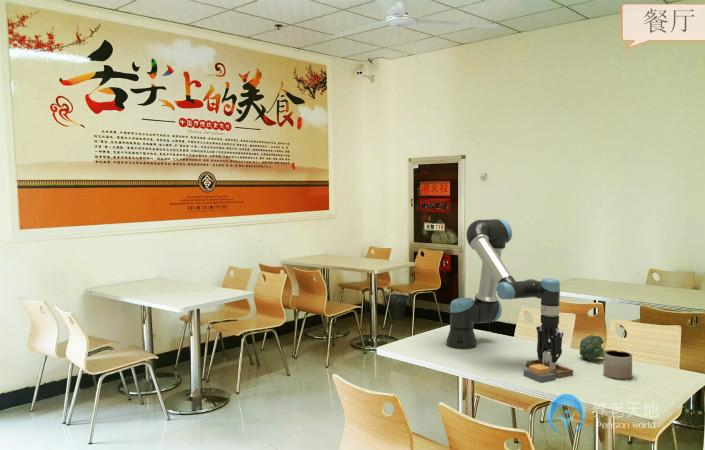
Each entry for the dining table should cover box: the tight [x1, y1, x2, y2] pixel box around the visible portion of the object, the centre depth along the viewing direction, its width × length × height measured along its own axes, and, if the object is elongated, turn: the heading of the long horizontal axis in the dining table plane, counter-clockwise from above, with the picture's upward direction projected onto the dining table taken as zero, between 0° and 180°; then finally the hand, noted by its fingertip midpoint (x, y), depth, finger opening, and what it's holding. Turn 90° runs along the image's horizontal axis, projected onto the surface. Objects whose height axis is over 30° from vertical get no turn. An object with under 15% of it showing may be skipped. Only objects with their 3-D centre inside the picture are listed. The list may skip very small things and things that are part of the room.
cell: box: [544, 349, 554, 371], centre depth 238 cm, size 4×4×9 cm
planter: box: [602, 349, 633, 381], centre depth 231 cm, size 11×11×10 cm
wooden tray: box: [525, 358, 574, 379], centre depth 238 cm, size 18×9×2 cm, turn 26°
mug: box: [536, 341, 563, 361], centre depth 248 cm, size 8×12×10 cm
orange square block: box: [528, 364, 550, 375], centre depth 229 cm, size 6×6×3 cm
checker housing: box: [523, 368, 557, 384], centre depth 229 cm, size 10×8×2 cm
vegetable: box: [579, 334, 608, 362], centre depth 254 cm, size 12×13×15 cm
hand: (548, 368), depth 238 cm, fingers closed on cell, 3 cm apart
